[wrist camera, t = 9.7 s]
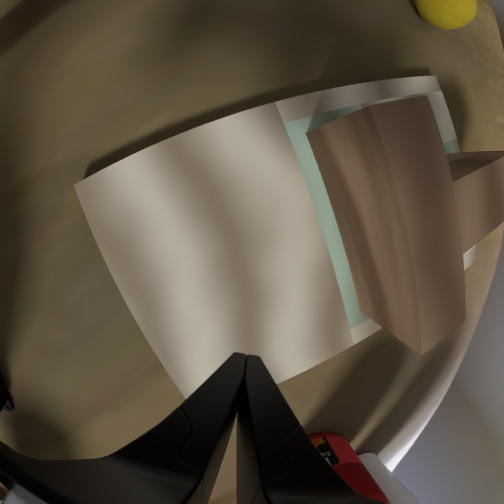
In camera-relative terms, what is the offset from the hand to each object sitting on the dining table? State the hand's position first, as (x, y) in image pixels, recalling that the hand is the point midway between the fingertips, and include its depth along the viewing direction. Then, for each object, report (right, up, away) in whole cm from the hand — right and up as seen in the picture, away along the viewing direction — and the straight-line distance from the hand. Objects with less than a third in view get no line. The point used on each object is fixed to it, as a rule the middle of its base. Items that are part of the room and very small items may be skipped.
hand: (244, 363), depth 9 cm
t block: (+12, +8, +10) cm, 17 cm away
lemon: (+17, +27, +9) cm, 34 cm away
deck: (+6, +5, +11) cm, 13 cm away
